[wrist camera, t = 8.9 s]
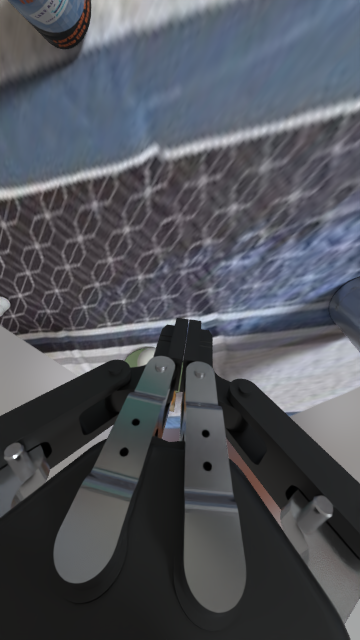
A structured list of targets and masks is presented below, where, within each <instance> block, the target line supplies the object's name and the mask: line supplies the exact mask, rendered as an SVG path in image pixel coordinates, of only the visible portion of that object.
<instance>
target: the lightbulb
mask: <svg viewBox="0 0 360 640" xmlns="http://www.w3.org/2000/svg"><path fill="white" fill-rule="evenodd" d="M9 308H10V302H9V301H8V300H7V299H6V298H4V297H0V317H1V316H2V315H3V313H4V312H5V311H6V310H7V309H9Z"/></svg>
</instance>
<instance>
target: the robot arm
mask: <svg viewBox="0 0 360 640" xmlns="http://www.w3.org/2000/svg"><path fill="white" fill-rule="evenodd" d="M329 314H330V317H331V318H332V320H333V321H334V322H335V323H336V325H337V326H338V327H339V328H340V329H341V331H342V332H343V333H344V334H345V335H346V337H347V338H348V339H349V340H350V341H351V343H352V344H353V345H354V346H355V347H356V348H357V350H358V351H359V352H360V277H359V278H356V279H354V280H352V281H350V282H348V283H347V284H345V285H344V286H342V287H341V288H340V289H339V290H338V291H337V292H336V294H335V295H334V296H333V298H332V300H331V302H330V306H329ZM188 320H189V319H182V318H177V319H176V323H175V326H173V325H166V326H165V327H164V328H163V329H162V331H161V334H160V338H159V341H158V344H157V347H156V350H155V353H154V356H153V358H151V359H150V360H149V361H148V363H147V364H146V365H143V366H139V367H130V366H129V364H128V363H127V362H125V361H123V360H112V361H109V362H107V363H105V364H103V365H101V366H99V367H97V368H95V369H93V370H91V371H89V372H87V373H85V374H83V375H81V376H79V377H77V378H75V379H73V380H71V381H69V382H67V383H65V384H63V385H61V386H59V387H57V388H55V389H53V390H51V391H49V392H47V393H45V394H43V395H41V396H39V397H37V398H35V399H33V400H31V401H29V402H27V403H25V404H23V405H21V406H19V407H17V408H15V409H13V410H11V411H9V412H7V413H5V414H3V415H1V416H0V640H350V637H349V635H348V632H347V630H346V628H345V625H344V624H345V622H346V621H347V619H348V617H349V616H350V614H351V612H352V611H353V609H354V607H355V605H356V604H357V602H358V600H359V599H360V484H359V482H358V481H356V480H355V479H354V478H353V477H352V476H351V475H350V474H349V473H348V472H347V471H346V470H345V469H344V468H343V467H342V466H341V465H339V464H338V463H337V462H336V461H335V460H334V459H333V458H332V457H331V456H330V455H329V454H328V453H327V452H326V451H325V450H323V448H321V446H319V445H318V444H317V443H316V442H315V441H314V440H313V439H312V438H311V437H310V436H309V435H308V434H307V433H306V432H305V431H304V430H302V429H301V428H300V427H299V426H298V425H297V424H296V423H295V422H294V421H293V420H292V419H291V418H290V417H289V416H288V415H287V414H286V413H285V412H284V411H282V410H281V409H280V408H279V407H278V406H277V405H276V404H275V403H274V402H273V401H272V400H271V399H270V398H269V397H268V396H267V395H266V394H265V393H263V392H262V391H261V390H260V389H259V388H258V387H257V386H256V385H255V384H254V383H252V382H251V381H249V380H246V379H235V380H233V381H232V382H229V381H227V380H224V379H222V378H221V377H219V376H218V375H217V374H216V373H215V372H214V370H213V364H212V335H211V333H210V331H209V330H202V329H201V321H197V320H189V327H188ZM187 328H188V333H187ZM186 336H187V340H186ZM185 344H186V346H185ZM184 350H185V353H184ZM183 357H184V359H183ZM182 363H183V367H182ZM181 370H182V375H181ZM180 376H181V383H180V390H179V391H180V392H183V395H182V403H181V418H180V439H179V441H177V442H167V441H165V440H163V439H162V436H163V432H164V428H165V425H166V421H167V417H168V414H169V410H170V406H171V401H172V399H173V395H174V391H178V389H179V382H180ZM113 424H114V426H113V428H112V430H111V432H110V434H109V436H108V438H107V439H105V440H103V441H101V442H99V443H97V444H96V445H94V446H92V447H91V448H90V449H88V450H87V451H86V452H84V453H83V454H82V455H81V456H80V457H78V458H77V459H75V460H74V461H73V462H72V463H70V464H69V465H68V466H66V467H65V468H64V469H63V470H61V471H60V472H59V473H57V474H56V475H55V476H53V477H52V478H51V479H50V480H48V481H47V482H46V480H47V478H48V476H49V472H50V469H51V468H53V467H54V466H55V465H57V464H58V463H60V462H61V461H63V460H64V459H65V458H67V457H68V456H70V455H71V454H73V453H74V452H75V451H77V450H78V449H80V448H81V447H82V446H84V445H85V444H87V443H88V442H89V441H91V440H92V439H94V438H95V437H96V436H98V435H99V434H101V433H102V432H103V431H105V430H106V429H108V428H109V427H110V426H112V425H113ZM226 438H227V439H228V441H229V442H230V443H231V444H232V446H233V447H234V448H235V450H236V451H237V452H238V453H239V455H240V456H241V458H242V459H243V460H244V462H245V463H246V464H247V466H248V467H249V468H250V469H251V471H252V472H253V473H254V475H255V476H256V477H257V479H258V480H259V481H260V483H261V484H262V485H263V487H264V488H265V489H266V491H267V492H268V493H269V495H270V496H271V497H272V498H273V500H274V501H275V502H276V504H277V505H278V506H279V507H280V509H281V514H280V519H281V524H282V527H283V530H284V531H283V530H282V529H281V527H280V526H279V524H278V523H277V521H276V520H275V518H274V517H273V515H272V514H271V512H270V511H269V510H268V508H267V507H266V505H265V504H264V502H263V501H262V499H261V498H260V496H259V495H258V494H257V492H256V491H255V489H254V488H253V486H252V485H251V483H250V482H249V480H248V479H247V478H246V476H245V475H244V473H243V472H242V471H241V470H240V468H239V467H238V466H237V465H236V464H235V463H234V462H233V461H232V460H231V459H229V458H228V450H227V442H226ZM45 482H46V483H45ZM284 532H285V533H284Z"/></svg>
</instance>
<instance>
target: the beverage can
mask: <svg viewBox="0 0 360 640" xmlns="http://www.w3.org/2000/svg"><path fill="white" fill-rule="evenodd" d="M8 1H9V2H10V3H11V4H12V5H13V6H14V7H15V8H16V9H17V10H18V11H19V12H20V13H21V14H22V15H23V16H24V17H25V18H26V19H27V20H28V22H29V23H30V24H31V25H32V26H33V27H34V28H35V29H36V30H37V31H38V32H39V33H40V34H41V35H42V36H43V37H44V38H45V39H46V40H47V41H48V42H49V43H51V44H52V45H54V46H55V47H57V48H61V49H70V48H73V47H75V46H76V45H78V44H79V43H80V42H81V41H82V39H83V38H84V36H85V34H86V32H87V30H88V27H89V23H90V18H91V0H8Z"/></svg>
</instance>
